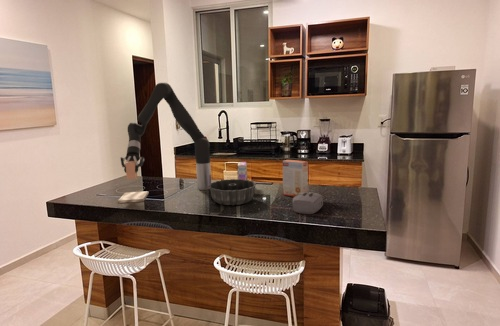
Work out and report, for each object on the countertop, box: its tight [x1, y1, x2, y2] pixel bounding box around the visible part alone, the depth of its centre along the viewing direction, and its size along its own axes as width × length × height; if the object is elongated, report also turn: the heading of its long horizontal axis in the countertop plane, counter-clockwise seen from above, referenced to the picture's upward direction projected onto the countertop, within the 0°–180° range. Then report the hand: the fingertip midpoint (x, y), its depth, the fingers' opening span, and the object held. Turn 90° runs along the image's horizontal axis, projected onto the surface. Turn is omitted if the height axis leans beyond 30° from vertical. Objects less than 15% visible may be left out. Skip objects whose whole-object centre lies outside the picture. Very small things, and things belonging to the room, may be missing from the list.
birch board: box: [117, 190, 149, 204], centre depth 191 cm, size 14×18×2 cm
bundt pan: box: [209, 178, 257, 206], centre depth 179 cm, size 26×26×10 cm
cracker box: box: [282, 159, 309, 198], centre depth 186 cm, size 14×6×21 cm, turn 47°
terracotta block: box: [124, 161, 138, 180], centre depth 188 cm, size 5×5×10 cm
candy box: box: [236, 161, 248, 180], centre depth 208 cm, size 14×6×16 cm, turn 179°
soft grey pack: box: [291, 191, 324, 215], centre depth 163 cm, size 15×8×20 cm
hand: (131, 172), depth 187 cm, fingers closed on terracotta block, 5 cm apart
